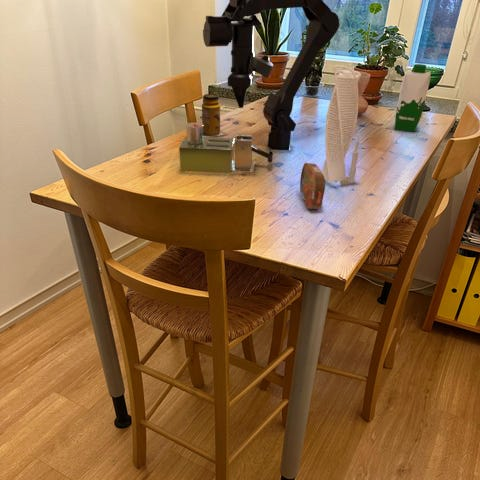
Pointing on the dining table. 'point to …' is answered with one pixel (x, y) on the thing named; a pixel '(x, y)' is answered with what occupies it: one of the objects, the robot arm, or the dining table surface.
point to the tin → (312, 185)
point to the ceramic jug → (361, 87)
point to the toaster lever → (263, 153)
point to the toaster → (207, 156)
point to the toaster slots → (218, 145)
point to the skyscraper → (341, 127)
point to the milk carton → (412, 98)
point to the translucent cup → (194, 133)
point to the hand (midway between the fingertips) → (241, 107)
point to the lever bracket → (243, 155)
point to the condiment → (211, 115)
